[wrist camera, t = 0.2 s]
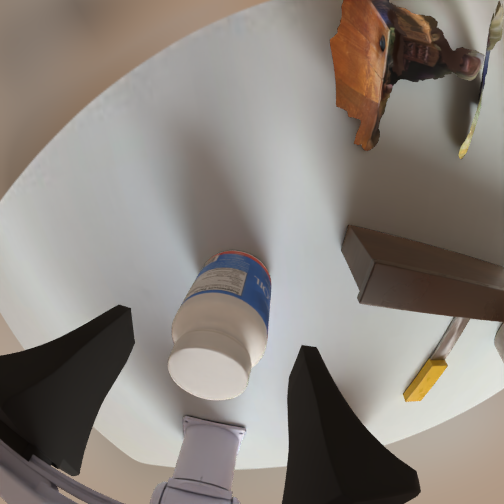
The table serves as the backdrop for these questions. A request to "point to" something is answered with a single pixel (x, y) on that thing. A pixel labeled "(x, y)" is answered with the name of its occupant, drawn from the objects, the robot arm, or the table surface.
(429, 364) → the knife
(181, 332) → the pill bottle
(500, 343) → the coffee cup
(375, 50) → the figurine
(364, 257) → the backboard
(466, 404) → the table surface
